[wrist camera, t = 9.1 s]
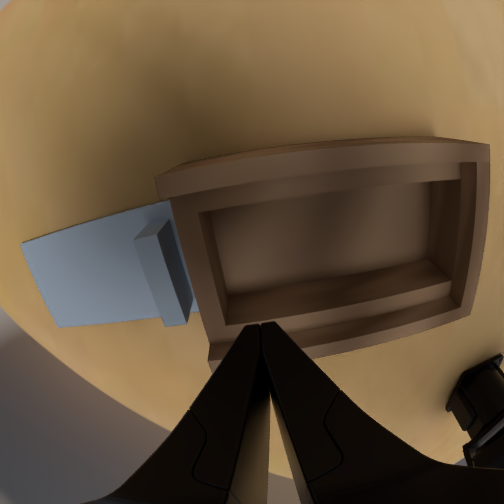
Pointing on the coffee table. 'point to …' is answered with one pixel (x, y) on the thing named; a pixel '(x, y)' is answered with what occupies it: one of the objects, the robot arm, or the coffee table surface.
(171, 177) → the pencil box
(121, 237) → the cover plate
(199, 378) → the coffee table surface
